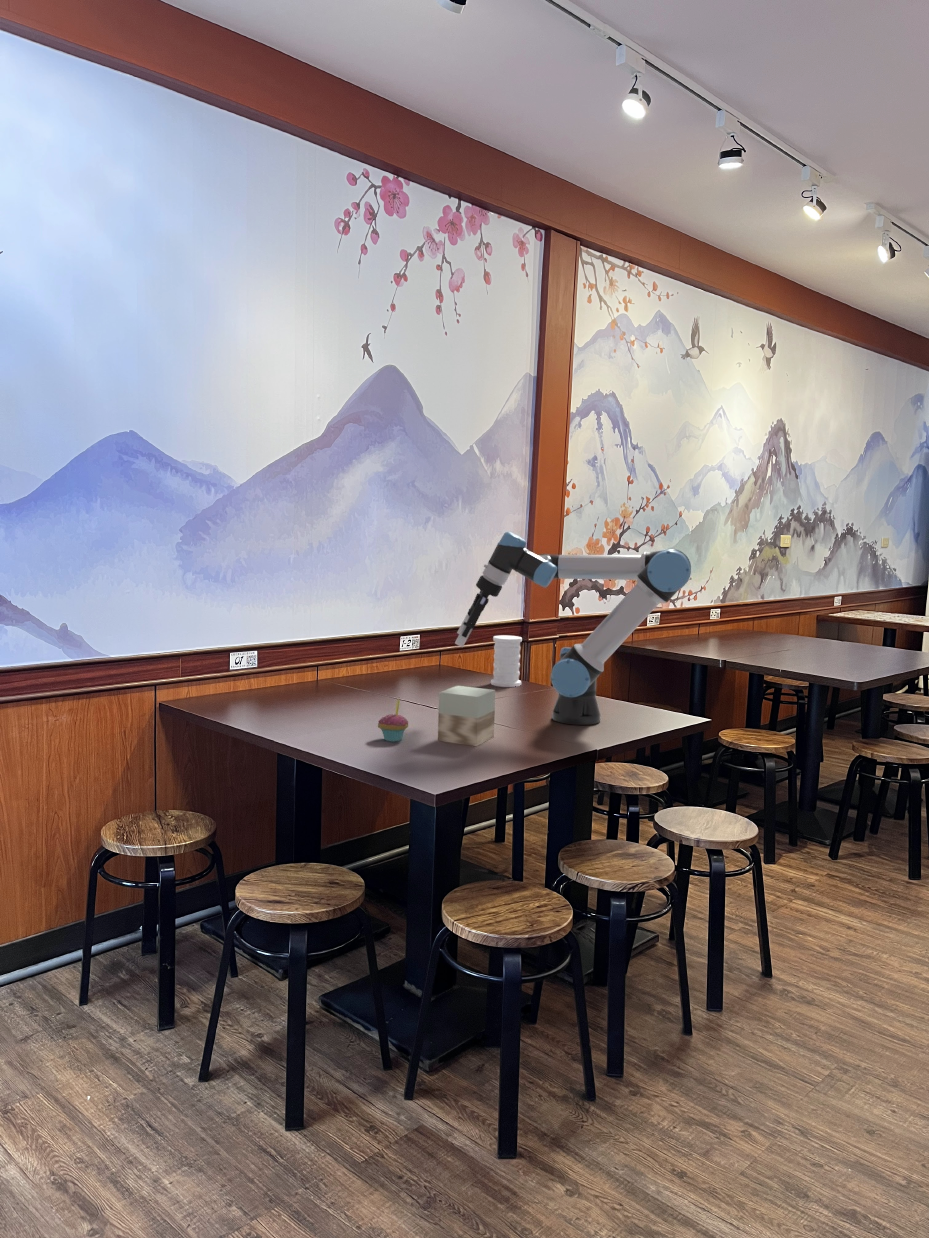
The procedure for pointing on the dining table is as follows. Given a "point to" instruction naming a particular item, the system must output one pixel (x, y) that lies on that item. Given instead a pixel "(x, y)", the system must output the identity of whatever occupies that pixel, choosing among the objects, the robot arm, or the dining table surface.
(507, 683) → the decorative container
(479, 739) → the tower base
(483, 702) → the tower top
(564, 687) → the robot arm
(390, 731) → the cupcake
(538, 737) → the dining table surface
